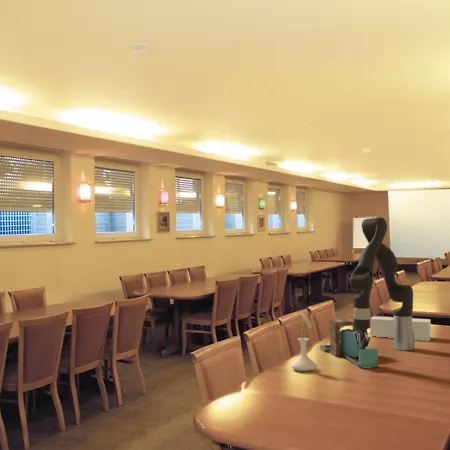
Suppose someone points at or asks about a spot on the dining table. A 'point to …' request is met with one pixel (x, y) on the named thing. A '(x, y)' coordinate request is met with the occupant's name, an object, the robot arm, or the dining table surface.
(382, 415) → the dining table surface
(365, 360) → the frame
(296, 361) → the flower in vase
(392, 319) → the white long block
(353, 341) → the data package
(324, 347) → the tray
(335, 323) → the wooden arch
